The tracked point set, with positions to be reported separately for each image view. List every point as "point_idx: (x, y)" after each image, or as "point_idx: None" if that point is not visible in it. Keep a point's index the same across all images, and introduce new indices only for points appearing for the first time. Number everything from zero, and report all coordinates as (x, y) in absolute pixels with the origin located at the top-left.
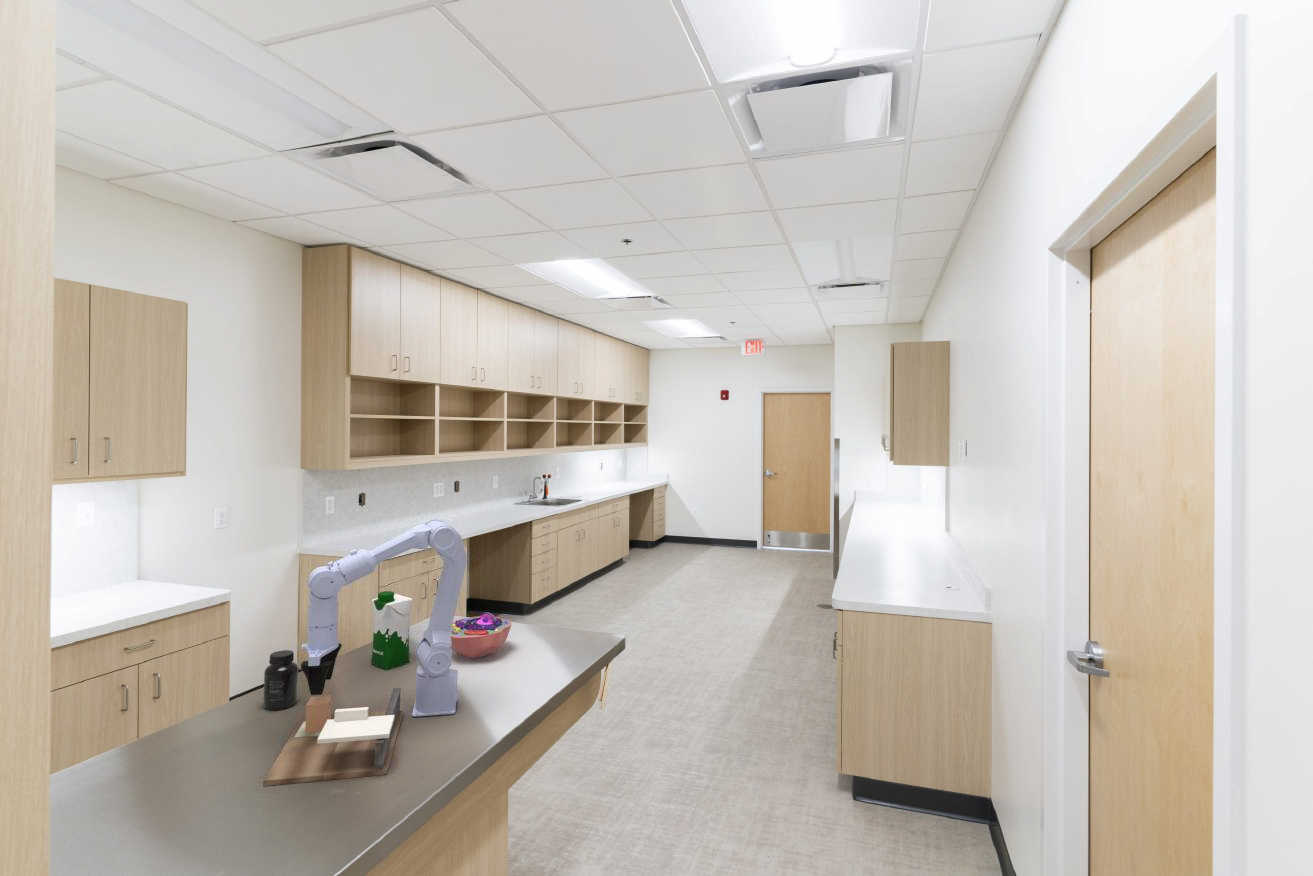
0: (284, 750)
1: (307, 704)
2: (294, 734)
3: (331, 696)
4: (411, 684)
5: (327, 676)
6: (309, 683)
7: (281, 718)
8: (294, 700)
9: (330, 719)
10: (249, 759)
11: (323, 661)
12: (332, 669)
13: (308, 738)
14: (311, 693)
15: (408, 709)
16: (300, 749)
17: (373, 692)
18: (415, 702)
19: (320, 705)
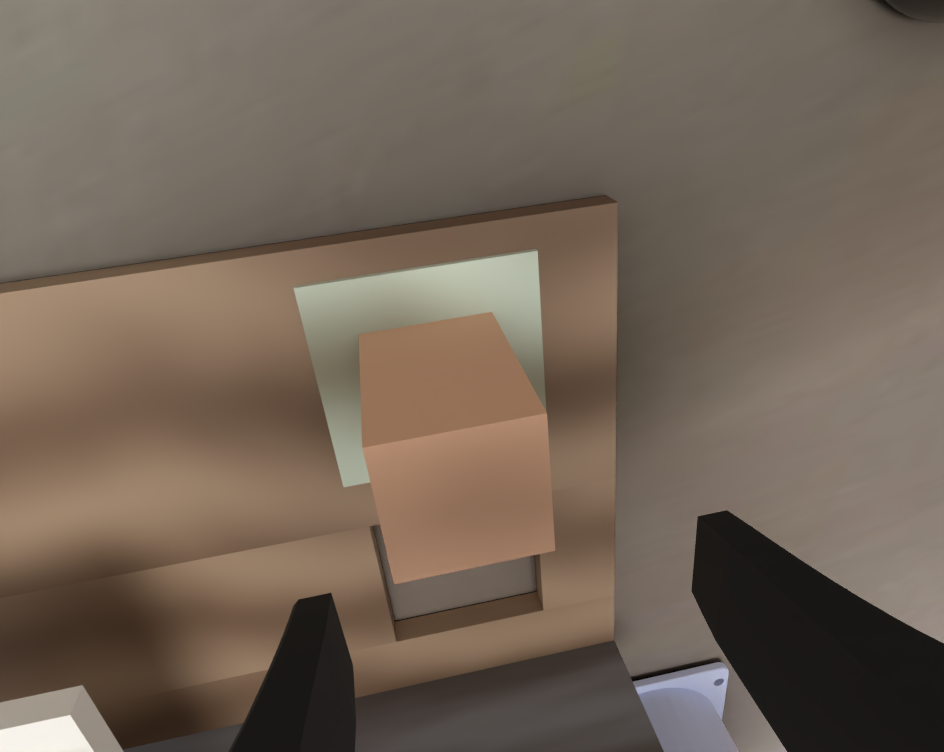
0: (110, 295)
1: (373, 454)
2: (353, 261)
3: (553, 544)
4: (936, 579)
5: (711, 599)
6: (243, 741)
7: (698, 5)
8: (934, 17)
9: (80, 728)
10: (16, 44)
11: (853, 729)
12: (754, 698)
13: (296, 376)
14: (289, 622)
15: (658, 654)
16: (142, 390)
17: (913, 451)
18: (703, 675)
19: (384, 535)
